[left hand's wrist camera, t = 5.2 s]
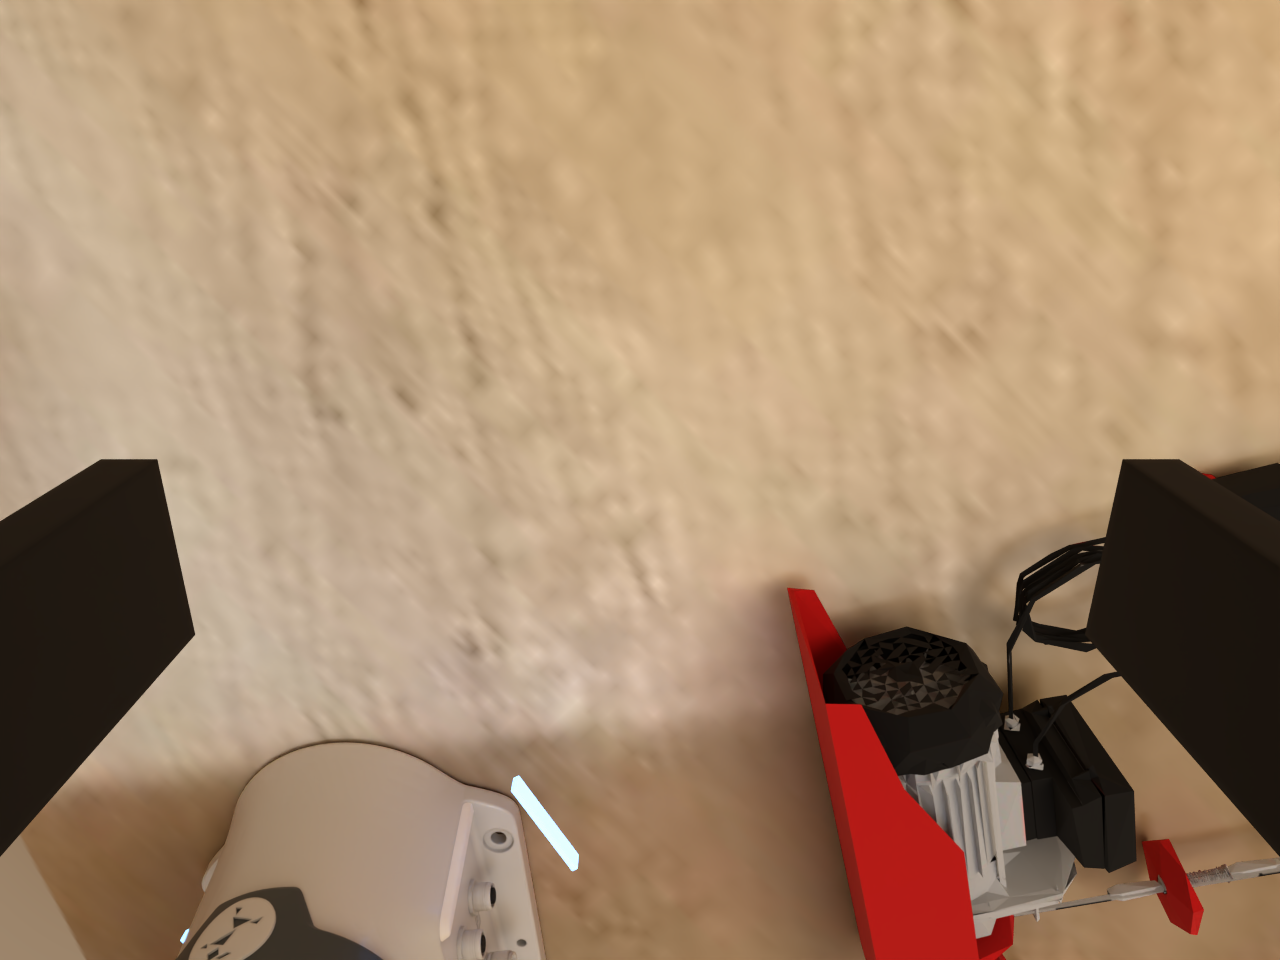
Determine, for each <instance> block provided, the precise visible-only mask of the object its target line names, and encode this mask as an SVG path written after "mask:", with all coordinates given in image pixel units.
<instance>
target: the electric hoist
mask: <svg viewBox="0 0 1280 960" xmlns="http://www.w3.org/2000/svg"><path fill="white" fill-rule="evenodd" d="M1202 474H1203V473H1202ZM1204 475H1205V476H1207V477H1208V478H1210V479H1212V480H1213V481H1215V482H1217V483H1218V484H1220V485H1221V486H1223V487H1225V488H1226V489H1228V490H1230V491H1231V492H1233V493H1234V494H1236V495H1238V496H1239V497H1241V498H1243V499H1244V500H1246V501H1247V502H1249V503H1251V504H1252V505H1254V506H1256V507H1257V508H1259V509H1261V510H1262V511H1264V512H1265V513H1267V514H1269V515H1270V516H1272V517H1274V518H1275V519H1277V520H1278V521H1280V464H1278V463H1275V464H1271V465H1267V466H1263V467H1259V468H1255V469H1251V470H1247V471H1243V472H1239V473H1235V474H1231V475H1227V476H1223V477H1219V478H1216V477H1214V476H1213V475H1210V474H1204ZM1105 539H1106V537H1104V538H1099V539H1095V540H1090V541H1086V542H1081V543H1076V544H1072V545H1068V546H1066V547H1064V548H1062V549H1060V550H1058V551H1055V552H1053V553H1051V554H1049V555H1048V556H1046V557H1045V558H1043V559H1042V560H1040V561H1039V562H1037V563H1035V564H1034V565H1032V566H1031V567H1029V568H1028V569H1026V570H1025V571H1023V572H1021V573H1020V575H1019V578H1018V582H1017V588H1016V601H1015V610H1014V617H1013V621H1017V622H1016V627H1015V629H1014V631H1013V633H1012V634H1011V636H1010V638H1009V640H1008V642H1007V672H1008V703H1009V712H1006V713H1002V714H1000V713H999V709H1000V705H1001V701H1002V697H1003V692H1002V691H1001V690H1000V688H999V687H998V685H997V684H996V682H995V681H994V679H993V678H992V677H991V675H990V674H989V672H988V668H987V665H986V664H984V663H983V662H981V661H980V659H979V658H978V656H977V655H976V654H975V652H974V651H973V650H972V649H971V648H970V647H969V646H968V645H967V644H966V643H964V642H960V641H956V640H953V639H949V638H946V637H942V636H938V635H935V634H931V633H928V632H924V631H921V630H917V629H913V628H910V627H904V628H900V629H897V630H893V631H890V632H886V633H883V634H879V635H876V636H872V637H869V638H865V639H863V640H862V641H860V642H859V643H857V644H855V645H854V646H852V647H851V648H849V649H848V650H847V649H846V647H845V645H844V643H843V641H842V640H841V638H840V636H839V634H838V632H837V631H836V629H835V627H834V625H833V623H832V622H831V620H830V618H829V616H828V614H827V613H826V611H825V609H824V607H823V605H822V604H821V602H820V600H819V598H818V597H817V595H816V593H815V591H814V590H806V589H795V588H787V589H788V594H789V599H790V604H791V608H792V613H793V618H794V623H795V628H796V633H797V637H798V642H799V647H800V652H801V657H802V662H803V666H804V671H805V676H806V681H807V686H808V690H809V695H810V700H811V705H812V710H813V715H814V719H815V724H816V729H817V734H818V739H819V743H820V748H821V753H822V758H823V763H824V768H825V772H826V777H827V782H828V787H829V792H830V796H831V801H832V806H833V811H834V816H835V821H836V825H837V830H838V835H839V840H840V845H841V850H842V854H843V859H844V864H845V869H846V874H847V878H848V883H849V888H850V893H851V898H852V903H853V907H854V912H855V917H856V922H857V927H858V931H859V936H860V941H861V944H862V948H863V952H864V955H865V959H866V960H1006V959H1005V957H1004V956H1003V954H1002V953H1003V952H1005V951H1006V950H1007V949H1008V948H1009V947H1010V946H1011V945H1013V930H1014V917H1015V916H1021V915H1027V914H1033V915H1034V917H1035V919H1036V921H1039V920H1040V917H1039V913H1040V912H1046V911H1052V910H1058V909H1064V908H1070V907H1076V906H1082V905H1088V904H1094V903H1101V902H1107V901H1113V900H1120V901H1125V900H1130V899H1134V898H1139V897H1144V896H1148V895H1153V894H1155V893H1157V895H1158V897H1159V899H1160V901H1161V904H1162V906H1163V908H1164V910H1165V912H1166V914H1167V916H1168V918H1169V920H1170V922H1171V923H1173V924H1174V925H1176V926H1178V927H1179V928H1181V929H1183V930H1184V931H1186V932H1188V933H1189V934H1193V935H1197V934H1198V930H1199V927H1200V923H1201V919H1202V915H1203V911H1204V909H1203V907H1202V905H1201V903H1200V901H1199V899H1198V897H1197V895H1196V893H1195V891H1194V889H1193V887H1198V886H1204V885H1210V884H1216V883H1222V882H1228V883H1229V882H1230V881H1235V880H1241V879H1247V878H1253V877H1259V876H1265V875H1271V874H1277V873H1280V857H1278V858H1272V859H1263V860H1253V861H1244V862H1236V863H1234V864H1232V865H1230V866H1228V867H1227V865H1226V864H1224V865H1221V867H1218V868H1217V867H1216V868H1214V869H1209V870H1204V871H1202V872H1201V871H1200V870H1199V871H1198V872H1193V873H1194V874H1193V873H1190V872H1189V873H1190V874H1187V873H1185V871H1184V869H1183V867H1182V865H1181V863H1180V861H1179V859H1178V857H1177V855H1176V852H1175V850H1174V848H1173V846H1172V844H1171V842H1170V840H1169V839H1164V840H1153V841H1143V842H1142V844H1143V849H1144V854H1145V859H1146V864H1147V869H1148V873H1149V878H1150V881H1143V882H1133V883H1124V884H1116V885H1114V886H1112V887H1110V888H1108V889H1107V892H1108V895H1102V896H1097V897H1091V898H1086V899H1081V900H1075V901H1070V902H1064V903H1061V902H1062V898H1063V895H1064V893H1065V892H1066V890H1067V889H1068V887H1069V885H1070V884H1071V882H1072V881H1073V879H1074V877H1075V876H1076V874H1077V872H1076V868H1075V864H1074V860H1075V857H1076V859H1077V860H1078V861H1079V862H1080V863H1081V864H1082V865H1083V867H1085V868H1101V869H1106V870H1107V871H1108V872H1109V873H1110V872H1112V871H1115V870H1117V869H1119V868H1121V867H1124V866H1126V865H1128V864H1130V863H1133V862H1135V861H1136V836H1135V807H1134V790H1133V789H1132V788H1131V786H1130V785H1129V783H1128V782H1127V781H1126V779H1125V778H1124V776H1123V775H1122V773H1121V772H1120V771H1119V769H1118V768H1117V766H1116V765H1115V763H1114V762H1113V761H1112V759H1111V758H1110V756H1109V755H1108V753H1107V752H1106V751H1105V749H1104V748H1103V746H1102V745H1101V744H1100V742H1099V741H1098V739H1097V738H1096V736H1095V735H1094V734H1093V732H1092V731H1091V729H1090V728H1089V726H1088V725H1087V724H1086V722H1085V721H1084V719H1083V718H1082V716H1081V715H1080V714H1079V712H1078V711H1077V709H1076V708H1075V706H1074V705H1073V704H1072V702H1071V701H1072V700H1074V699H1076V698H1078V697H1079V696H1081V695H1083V694H1085V693H1086V692H1088V691H1090V690H1092V689H1094V688H1095V687H1097V686H1099V685H1101V684H1102V683H1104V682H1106V681H1108V680H1109V679H1111V678H1114V677H1119V676H1121V675H1120V674H1119V673H1118V672H1113V673H1108V674H1104V675H1102V676H1100V677H1099V678H1097V679H1095V680H1094V681H1092V682H1090V683H1089V684H1087V685H1086V686H1084V687H1082V688H1081V689H1079V690H1077V691H1076V692H1074V693H1072V694H1071V695H1069V696H1068V697H1067V695H1063V696H1057V697H1050V698H1044V699H1040V703H1039V702H1038V700H1036V701H1034V702H1033V703H1031V704H1029V705H1027V706H1026V707H1024V708H1022V709H1019V710H1014V711H1013V690H1012V653H1011V651H1012V649H1013V647H1014V645H1015V642H1016V640H1017V638H1018V636H1019V634H1020V632H1021V630H1022V628H1023V630H1022V631H1024V632H1025V633H1026V634H1027V635H1028V636H1029V637H1030V638H1032V639H1033V640H1034V641H1035V642H1039V643H1044V644H1045V645H1054V646H1059V647H1063V648H1068V649H1073V650H1078V651H1083V652H1088V651H1090V650H1093V649H1095V648H1096V647H1095V646H1094V644H1093V643H1092V644H1088V643H1082V642H1091V641H1090V640H1089V639H1088V638H1087V636H1086V635H1085V632H1086V628H1084V629H1080V630H1077V631H1076V630H1070V629H1065V628H1059V627H1054V626H1048V625H1043V624H1038V623H1035V622H1032V621H1031V618H1030V615H1029V613H1030V611H1031V609H1032V607H1033V605H1034V603H1035V601H1037V600H1038V599H1040V598H1042V597H1043V596H1045V595H1046V594H1048V593H1050V592H1051V591H1053V590H1055V589H1056V588H1058V587H1059V586H1061V585H1063V584H1064V583H1066V582H1068V581H1069V580H1071V579H1072V578H1074V577H1076V576H1077V575H1079V574H1081V573H1082V572H1084V571H1085V570H1087V569H1089V568H1090V567H1092V566H1094V565H1095V564H1100V562H1101V558H1102V553H1103V548H1104V546H1093V545H1097V544H1101V543H1105ZM1069 550H1070V551H1069ZM1067 551H1068V552H1067ZM1081 551H1089V552H1084V553H1079V552H1081ZM1065 552H1066V553H1065ZM1064 553H1065V554H1064ZM1078 553H1079V554H1078ZM1062 554H1063V555H1062ZM1060 555H1062V556H1060ZM1059 556H1060V557H1059ZM1057 557H1059V558H1057ZM1055 558H1057V559H1056V560H1054V559H1055ZM1052 560H1054V561H1052ZM1050 561H1052V562H1051V563H1049V564H1048V565H1046V566H1045V567H1043V568H1041V569H1040V570H1038V571H1037V572H1035V573H1034V574H1032V575H1031V576H1029V577H1027V578H1026V579H1024V580H1023V578H1024V577H1025V576H1026V575H1028V574H1030V573H1031V572H1033V571H1035V570H1037V569H1038V568H1040V567H1042V566H1043V565H1045V564H1047V563H1048V562H1050ZM1079 563H1080V564H1079ZM1076 565H1077V566H1076ZM1024 588H1025V589H1024ZM1023 589H1024V590H1023ZM1024 596H1025V597H1024ZM1029 601H1030V602H1029ZM1027 602H1029V604H1028V605H1026V603H1027ZM1018 614H1019V615H1018ZM1212 870H1213V871H1212ZM1215 870H1216V871H1215ZM1205 871H1206V872H1205ZM1207 871H1208V872H1207ZM1215 874H1216V875H1215ZM1210 875H1211V876H1210ZM1199 877H1200V878H1199ZM1194 878H1195V879H1194ZM1058 901H1059V902H1060V903H1059V904H1058Z"/></svg>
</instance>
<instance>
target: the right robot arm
mask: <svg viewBox="0 0 1280 960" xmlns="http://www.w3.org/2000/svg"><path fill="white" fill-rule="evenodd" d="M511 792H512V793H513V794H514V795H515V797H516V798H517V799H518V801H519V802H520V803H521V805H522V806H523V807H524V809H525V810H526V811H527V812H528V814H529V815H530V816H531V818H532V819H533V820H534V822H535V823H536V824H537V826H538V827H539V828H540V829H541V831H542V832H543V833H544V835H545V836H546V837H547V839H548V840H549V841H550V843H551V844H552V845H553V846H554V848H555V849H556V850H557V852H558V853H559V854H560V856H561V857H562V858H563V860H564V861H565V862H566V863H567V865H568V866H569V867H570V869H571V870H572V871H573V870H576V869H577V868H578V856H579V855H578V853H577V852H576V851H575V849H574V848H573V847H572V845H571V844H570V843H569V841H568V840H567V839H566V837H565V836H564V835H563V834H562V832H561V831H560V830H559V828H558V827H557V826H556V824H555V823H554V822H553V820H552V819H551V818H550V816H549V815H548V814H547V812H546V811H545V810H544V808H543V807H542V806H541V804H540V803H539V802H538V800H537V799H536V798H535V796H534V795H533V794H532V792H531V791H530V790H529V788H528V787H527V786H526V784H525V783H524V782H523V780H522V779H521V778H520V777H519V776H517V777H515V778H513V783H512V789H511ZM495 832H502V833H504V834H497V833H495ZM202 889H203V891H204V892H205V893H204V895H203V897H202V900H201V902H200V904H199V907H198V909H197V911H196V914H195V916H194V918H193V921H192V923H191V925H190V928H189V929H188V930H186V931H185V933H184V935H183V936H182V938H181V940H180V941H181V942H182V943H183V944H182V947H181V949H180V951H179V954H178V956H177V958H176V960H546V955H545V950H544V944H543V938H542V933H541V927H540V921H539V916H538V910H537V904H536V899H535V893H534V887H533V882H532V876H531V870H530V865H529V859H528V853H527V848H526V842H525V836H524V831H523V825H522V819H521V814H520V810H519V807H518V805H517V804H516V803H515V801H513V800H512V799H511V798H509V797H507V796H505V795H502V794H500V793H496V792H493V791H490V790H485V789H481V788H477V787H472V786H468V785H464V784H462V783H460V782H458V781H456V780H454V779H453V778H451V777H449V776H448V775H446V774H444V773H443V772H441V771H440V770H438V769H437V768H435V767H433V766H432V765H430V764H428V763H426V762H424V761H422V760H420V759H418V758H416V757H414V756H411V755H409V754H406V753H403V752H401V751H398V750H394V749H391V748H387V747H383V746H378V745H372V744H365V743H350V742H342V743H326V744H320V745H314V746H310V747H306V748H302V749H299V750H296V751H293V752H290V753H288V754H286V755H284V756H282V757H280V758H278V759H276V760H274V761H273V762H271V763H270V764H268V765H267V766H265V767H264V768H263V769H261V770H260V771H259V772H258V773H257V774H256V775H255V776H254V777H253V778H252V779H251V780H250V781H249V783H248V784H247V785H246V787H245V788H244V790H243V791H242V793H241V795H240V797H239V799H238V801H237V804H236V807H235V810H234V814H233V818H232V822H231V826H230V829H229V833H228V836H227V839H226V842H225V844H224V846H223V847H222V848H221V849H220V850H219V851H218V852H217V853H216V855H215V856H214V857H213V859H212V860H211V861H210V863H209V865H208V867H207V870H206V872H205V874H204V876H203V879H202Z"/></svg>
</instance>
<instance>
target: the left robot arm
mask: <svg viewBox="0 0 1280 960" xmlns="http://www.w3.org/2000/svg"><path fill="white" fill-rule="evenodd" d="M194 635H195V632H194V627H193V622H192V618H191V613H190V608H189V604H188V599H187V595H186V590H185V585H184V581H183V576H182V571H181V567H180V562H179V558H178V553H177V548H176V544H175V539H174V534H173V530H172V525H171V521H170V516H169V511H168V507H167V502H166V497H165V493H164V488H163V484H162V479H161V474H160V470H159V465H158V460H157V459H101V460H99V461H98V462H96V463H94V464H93V465H91V466H89V467H88V468H86V469H85V470H83V471H81V472H80V473H78V474H76V475H75V476H73V477H72V478H70V479H68V480H67V481H65V482H63V483H62V484H60V485H59V486H57V487H55V488H54V489H52V490H50V491H49V492H47V493H46V494H44V495H42V496H41V497H39V498H37V499H36V500H34V501H33V502H31V503H29V504H28V505H26V506H24V507H23V508H21V509H19V510H18V511H16V512H15V513H13V514H11V515H10V516H8V517H6V518H5V519H3V520H2V521H0V856H1V855H2V854H3V853H4V852H5V851H6V850H7V848H8V847H9V846H10V845H11V844H12V843H13V841H14V840H15V839H16V838H17V837H18V836H19V835H20V834H21V832H22V831H23V830H24V829H25V828H26V827H27V826H28V824H29V823H30V822H31V821H32V820H33V819H34V818H35V816H36V815H37V814H38V813H39V812H40V811H41V810H42V809H43V807H44V806H45V805H46V804H47V803H48V802H49V801H50V799H51V798H52V797H53V796H54V795H55V794H56V793H57V791H58V790H59V789H60V788H61V787H62V786H63V785H64V783H65V782H66V781H67V780H68V779H69V778H70V777H71V775H72V774H73V773H74V772H75V771H76V770H77V769H78V767H79V766H80V765H81V764H82V763H83V762H84V761H85V760H86V758H87V757H88V756H89V755H90V754H91V753H92V752H93V750H94V749H95V748H96V747H97V746H98V745H99V744H100V742H101V741H102V740H103V739H104V738H105V737H106V736H107V734H108V733H109V732H110V731H111V730H112V729H113V728H114V726H115V725H116V724H117V723H118V722H119V721H120V720H121V719H122V717H123V716H124V715H125V714H126V713H127V712H128V711H129V709H130V708H131V707H132V706H133V705H134V704H135V703H136V701H137V700H138V699H139V698H140V697H141V696H142V695H143V693H144V692H145V691H146V690H147V689H148V688H149V687H150V685H151V684H152V683H153V682H154V681H155V680H156V679H157V677H158V676H159V675H160V674H161V673H162V672H163V671H164V670H165V668H166V667H167V666H168V665H169V664H170V663H171V662H172V660H173V659H174V658H175V657H176V656H177V655H178V654H179V652H180V651H181V650H182V649H183V648H184V647H185V646H186V644H187V643H188V642H189V641H190V640H191V639H192V638H193V636H194ZM1085 635H1086V636H1087V638H1088V639H1089V640H1090V641H1091V642H1092V643H1093V644H1094V646H1095V647H1096V648H1097V649H1098V650H1099V651H1100V652H1101V654H1102V655H1103V656H1104V657H1105V658H1106V659H1107V660H1108V662H1109V663H1110V664H1111V665H1112V666H1113V667H1114V668H1115V670H1116V671H1117V672H1118V673H1119V674H1120V675H1121V676H1122V677H1123V679H1124V680H1125V681H1126V682H1127V683H1128V684H1129V685H1130V687H1131V688H1132V689H1133V690H1134V691H1135V692H1136V693H1137V695H1138V696H1139V697H1140V698H1141V699H1142V700H1143V701H1144V703H1145V704H1146V705H1147V706H1148V707H1149V708H1150V709H1151V711H1152V712H1153V713H1154V714H1155V715H1156V716H1157V717H1158V719H1159V720H1160V721H1161V722H1162V723H1163V724H1164V725H1165V726H1166V728H1167V729H1168V730H1169V731H1170V732H1171V733H1172V734H1173V736H1174V737H1175V738H1176V739H1177V740H1178V741H1179V742H1180V744H1181V745H1182V746H1183V747H1184V748H1185V749H1186V750H1187V752H1188V753H1189V754H1190V755H1191V756H1192V757H1193V758H1194V760H1195V761H1196V762H1197V763H1198V764H1199V765H1200V766H1201V767H1202V769H1203V770H1204V771H1205V772H1206V773H1207V774H1208V775H1209V777H1210V778H1211V779H1212V780H1213V781H1214V782H1215V783H1216V785H1217V786H1218V787H1219V788H1220V789H1221V790H1222V791H1223V793H1224V794H1225V795H1226V796H1227V797H1228V798H1229V799H1230V801H1231V802H1232V803H1233V804H1234V805H1235V806H1236V807H1237V809H1238V810H1239V811H1240V812H1241V813H1242V814H1243V815H1244V816H1245V818H1246V819H1247V820H1248V821H1249V822H1250V823H1251V824H1252V826H1253V827H1254V828H1255V829H1256V830H1257V831H1258V832H1259V834H1260V835H1261V836H1262V837H1263V838H1264V839H1265V840H1266V842H1267V843H1268V844H1269V845H1270V846H1271V847H1272V848H1273V850H1274V851H1275V852H1276V853H1277V854H1278V855H1279V856H1280V521H1278V520H1277V519H1275V518H1274V517H1272V516H1270V515H1269V514H1267V513H1265V512H1264V511H1262V510H1261V509H1259V508H1257V507H1256V506H1254V505H1252V504H1251V503H1249V502H1247V501H1246V500H1244V499H1243V498H1241V497H1239V496H1238V495H1236V494H1234V493H1233V492H1231V491H1230V490H1228V489H1226V488H1225V487H1223V486H1221V485H1220V484H1218V483H1217V482H1215V481H1213V480H1212V479H1210V478H1208V477H1207V476H1205V475H1204V474H1202V473H1200V472H1199V471H1197V470H1195V469H1194V468H1192V467H1191V466H1189V465H1187V464H1186V463H1184V462H1182V461H1181V460H1179V459H1123V460H1122V465H1121V470H1120V474H1119V479H1118V484H1117V488H1116V493H1115V497H1114V502H1113V507H1112V511H1111V516H1110V521H1109V525H1108V530H1107V534H1106V539H1105V544H1104V548H1103V553H1102V558H1101V562H1100V567H1099V571H1098V576H1097V581H1096V585H1095V590H1094V595H1093V599H1092V604H1091V608H1090V613H1089V618H1088V622H1087V627H1086V632H1085Z"/></svg>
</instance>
